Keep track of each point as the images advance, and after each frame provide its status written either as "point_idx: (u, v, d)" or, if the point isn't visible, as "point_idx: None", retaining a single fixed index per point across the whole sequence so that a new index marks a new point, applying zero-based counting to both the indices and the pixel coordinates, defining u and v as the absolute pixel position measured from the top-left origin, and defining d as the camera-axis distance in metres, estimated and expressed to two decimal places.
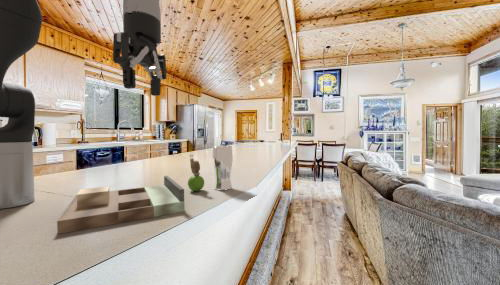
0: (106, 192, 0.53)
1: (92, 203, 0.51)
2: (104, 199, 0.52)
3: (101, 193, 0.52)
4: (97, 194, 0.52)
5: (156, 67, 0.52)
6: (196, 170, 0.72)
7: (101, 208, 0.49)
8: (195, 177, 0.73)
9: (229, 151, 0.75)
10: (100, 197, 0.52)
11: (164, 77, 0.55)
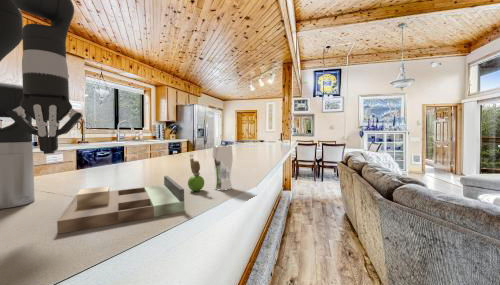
0: (106, 192, 0.53)
1: (92, 203, 0.51)
2: (104, 199, 0.52)
3: (101, 193, 0.52)
4: (97, 194, 0.52)
5: (47, 122, 0.50)
6: (196, 170, 0.72)
7: (101, 208, 0.49)
8: (195, 177, 0.73)
9: (229, 151, 0.75)
10: (100, 197, 0.52)
11: None
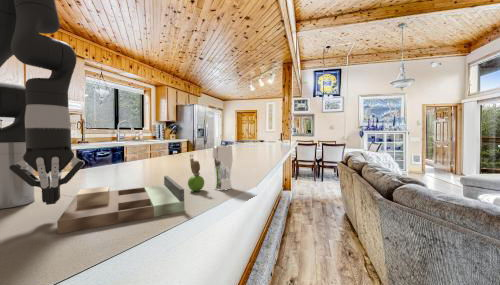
0: (106, 192, 0.53)
1: (92, 203, 0.51)
2: (104, 199, 0.52)
3: (101, 193, 0.52)
4: (97, 194, 0.52)
5: (49, 171, 0.51)
6: (196, 170, 0.72)
7: (101, 208, 0.49)
8: (195, 177, 0.73)
9: (229, 151, 0.75)
10: (100, 197, 0.52)
11: None
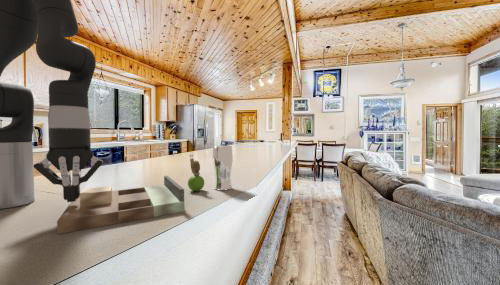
0: (109, 192, 0.53)
1: (95, 203, 0.52)
2: (106, 198, 0.53)
3: (104, 193, 0.52)
4: (100, 194, 0.52)
5: (70, 170, 0.52)
6: (196, 170, 0.72)
7: (101, 208, 0.49)
8: (195, 177, 0.73)
9: (229, 151, 0.75)
10: (103, 197, 0.52)
11: None
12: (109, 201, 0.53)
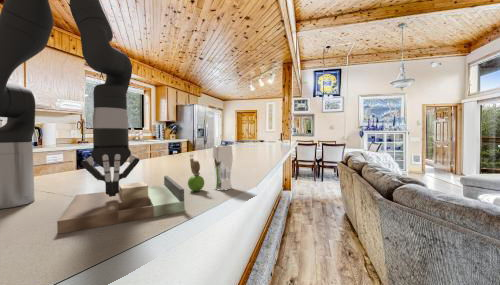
0: (146, 186, 0.58)
1: (134, 196, 0.56)
2: (144, 192, 0.58)
3: (142, 187, 0.57)
4: (139, 188, 0.57)
5: None
6: (196, 170, 0.72)
7: (101, 208, 0.49)
8: (195, 177, 0.73)
9: (229, 151, 0.75)
10: (141, 191, 0.57)
11: None
12: (146, 195, 0.58)
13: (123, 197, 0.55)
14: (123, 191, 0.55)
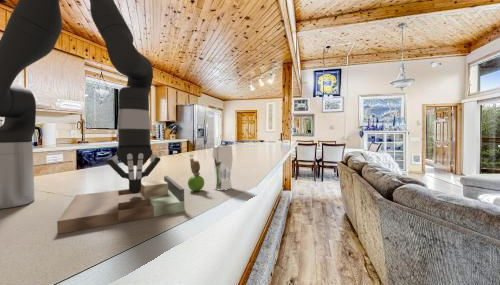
0: (166, 184, 0.61)
1: (156, 193, 0.59)
2: (164, 190, 0.61)
3: (162, 185, 0.60)
4: (159, 186, 0.60)
5: None
6: (196, 170, 0.72)
7: (101, 208, 0.49)
8: (195, 177, 0.73)
9: (229, 151, 0.75)
10: (162, 188, 0.60)
11: None
12: (166, 192, 0.61)
13: (145, 194, 0.58)
14: (145, 188, 0.58)
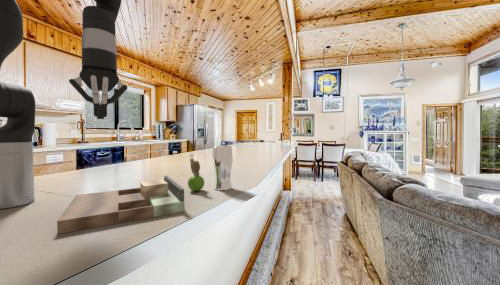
0: (166, 184, 0.61)
1: (156, 193, 0.59)
2: (164, 190, 0.61)
3: (162, 185, 0.60)
4: (159, 186, 0.60)
5: None
6: (196, 170, 0.72)
7: (101, 208, 0.49)
8: (195, 177, 0.73)
9: (229, 151, 0.75)
10: (162, 188, 0.60)
11: None
12: (166, 192, 0.61)
13: (145, 194, 0.58)
14: (145, 188, 0.58)
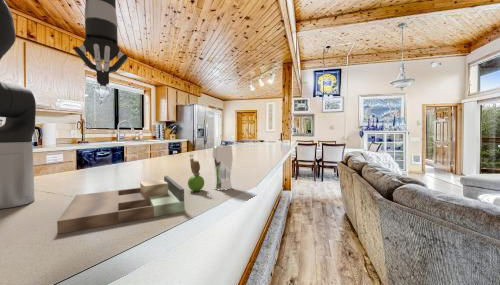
0: (166, 184, 0.61)
1: (156, 193, 0.59)
2: (164, 190, 0.61)
3: (162, 185, 0.60)
4: (159, 186, 0.60)
5: None
6: (196, 170, 0.72)
7: (101, 208, 0.49)
8: (195, 177, 0.73)
9: (229, 151, 0.75)
10: (162, 188, 0.60)
11: None
12: (166, 192, 0.61)
13: (145, 194, 0.58)
14: (145, 188, 0.58)
